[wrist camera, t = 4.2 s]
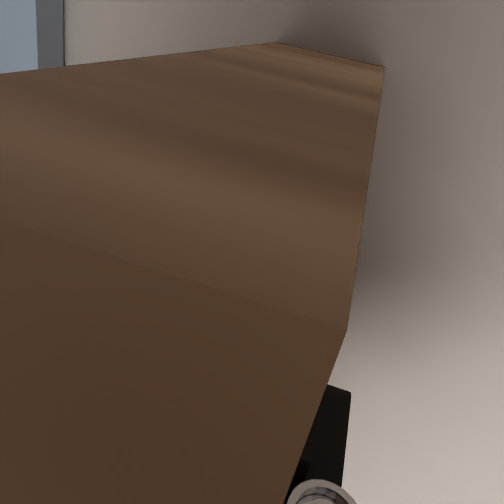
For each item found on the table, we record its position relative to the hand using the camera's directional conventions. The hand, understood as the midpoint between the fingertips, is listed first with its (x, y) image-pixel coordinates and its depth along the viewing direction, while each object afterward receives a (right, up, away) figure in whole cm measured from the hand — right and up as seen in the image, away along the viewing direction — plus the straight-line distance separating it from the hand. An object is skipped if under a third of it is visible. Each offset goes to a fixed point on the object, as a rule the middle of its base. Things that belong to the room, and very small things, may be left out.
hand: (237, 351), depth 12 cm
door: (+1, +2, +4) cm, 4 cm away
